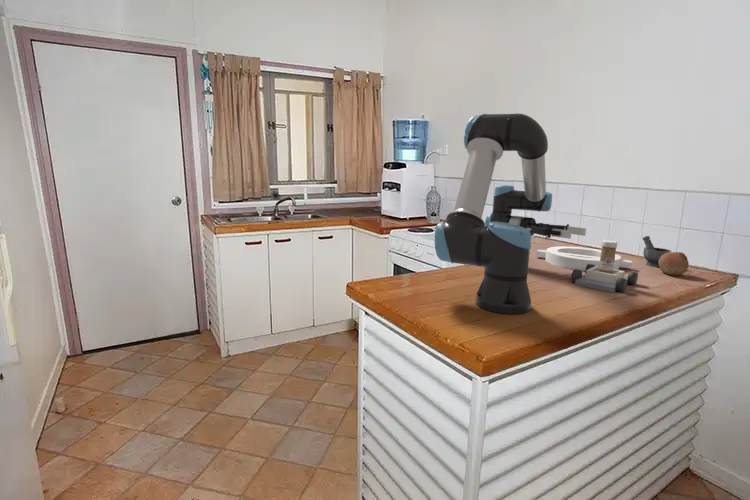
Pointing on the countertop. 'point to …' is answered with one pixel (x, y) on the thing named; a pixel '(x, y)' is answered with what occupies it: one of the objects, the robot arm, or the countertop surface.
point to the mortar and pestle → (652, 252)
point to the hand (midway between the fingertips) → (578, 233)
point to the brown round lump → (673, 263)
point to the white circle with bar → (577, 257)
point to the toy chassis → (603, 279)
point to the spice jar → (607, 256)
